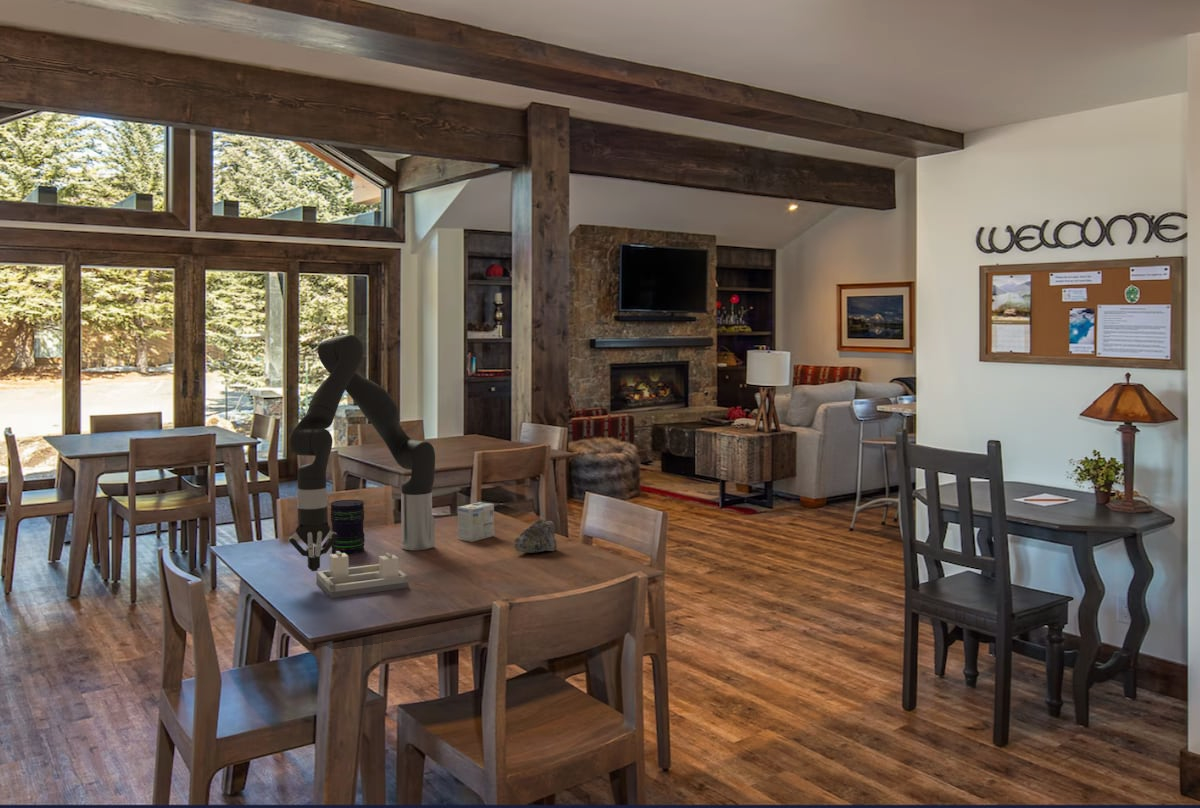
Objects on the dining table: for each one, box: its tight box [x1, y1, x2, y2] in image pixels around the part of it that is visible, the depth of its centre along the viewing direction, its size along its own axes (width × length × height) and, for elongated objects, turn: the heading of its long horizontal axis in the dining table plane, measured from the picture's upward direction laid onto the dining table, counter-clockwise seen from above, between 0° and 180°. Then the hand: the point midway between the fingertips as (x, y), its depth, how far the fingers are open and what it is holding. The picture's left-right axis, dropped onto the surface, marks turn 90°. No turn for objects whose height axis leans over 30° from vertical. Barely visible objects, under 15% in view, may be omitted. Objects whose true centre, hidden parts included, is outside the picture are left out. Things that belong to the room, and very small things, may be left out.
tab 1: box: [328, 551, 350, 577], centre depth 245 cm, size 4×4×7 cm
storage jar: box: [330, 499, 366, 556], centre depth 280 cm, size 10×10×15 cm
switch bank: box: [316, 563, 409, 599], centre depth 244 cm, size 20×16×3 cm
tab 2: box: [378, 552, 400, 579], centre depth 243 cm, size 4×4×7 cm
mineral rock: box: [513, 519, 557, 554], centre depth 282 cm, size 13×11×10 cm
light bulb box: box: [457, 501, 495, 543], centre depth 300 cm, size 11×7×11 cm, turn 144°
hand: (313, 570), depth 242 cm, fingers closed
